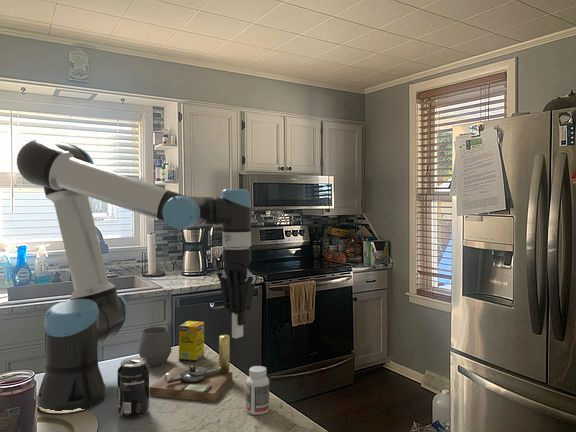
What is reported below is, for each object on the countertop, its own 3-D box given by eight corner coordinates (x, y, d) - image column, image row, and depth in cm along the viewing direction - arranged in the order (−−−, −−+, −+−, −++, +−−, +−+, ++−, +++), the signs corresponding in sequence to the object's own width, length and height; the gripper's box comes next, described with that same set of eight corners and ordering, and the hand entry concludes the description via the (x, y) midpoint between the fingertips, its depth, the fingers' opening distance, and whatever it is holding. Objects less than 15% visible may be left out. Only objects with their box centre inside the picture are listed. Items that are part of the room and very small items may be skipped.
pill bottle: (272, 406, 109) (272, 365, 109) (264, 417, 104) (265, 374, 103) (250, 403, 110) (250, 363, 110) (242, 413, 105) (242, 371, 105)
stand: (149, 395, 115) (149, 385, 115) (174, 374, 128) (174, 365, 128) (213, 401, 111) (213, 391, 111) (232, 379, 125) (232, 371, 125)
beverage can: (128, 405, 109) (128, 355, 108) (154, 408, 107) (154, 357, 107) (111, 419, 102) (111, 365, 102) (139, 422, 101) (139, 368, 100)
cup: (134, 361, 138) (134, 328, 138) (164, 355, 144) (164, 324, 143) (145, 371, 131) (145, 336, 130) (176, 364, 136) (176, 331, 136)
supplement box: (197, 363, 138) (197, 326, 137) (178, 361, 139) (178, 325, 139) (204, 356, 144) (204, 321, 143) (186, 354, 145) (186, 320, 144)
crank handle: (168, 388, 113) (168, 349, 113) (160, 380, 118) (160, 342, 118) (234, 374, 123) (234, 338, 122) (223, 366, 128) (224, 332, 128)
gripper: (209, 247, 122) (210, 335, 123) (244, 250, 114) (245, 345, 114) (230, 245, 128) (230, 329, 129) (264, 248, 120) (265, 338, 120)
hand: (237, 336), depth 122 cm, fingers closed
